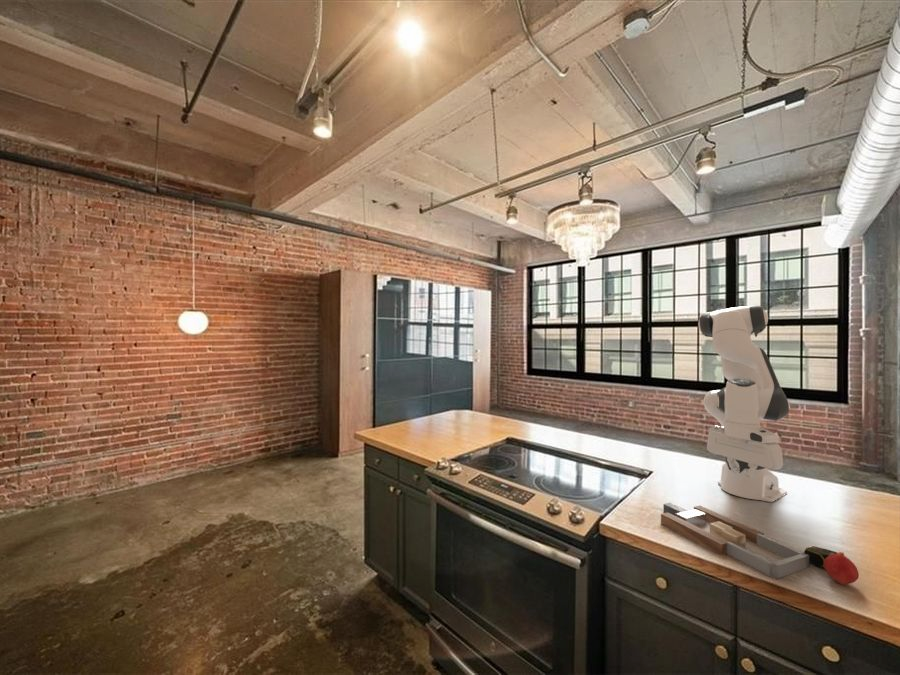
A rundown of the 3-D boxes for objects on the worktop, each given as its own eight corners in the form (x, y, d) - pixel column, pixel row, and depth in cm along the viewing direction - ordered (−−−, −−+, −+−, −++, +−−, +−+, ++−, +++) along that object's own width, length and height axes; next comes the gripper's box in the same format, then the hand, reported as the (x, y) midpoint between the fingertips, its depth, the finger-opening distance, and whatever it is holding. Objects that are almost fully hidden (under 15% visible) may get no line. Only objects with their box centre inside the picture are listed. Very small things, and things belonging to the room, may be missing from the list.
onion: (817, 577, 92) (817, 545, 92) (837, 576, 93) (837, 544, 93) (843, 593, 86) (843, 558, 86) (865, 591, 87) (865, 557, 87)
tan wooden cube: (719, 534, 113) (719, 521, 113) (732, 541, 109) (732, 527, 109) (709, 536, 111) (709, 523, 111) (723, 543, 107) (723, 529, 108)
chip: (730, 541, 108) (730, 528, 109) (745, 549, 105) (745, 535, 105) (721, 544, 107) (721, 530, 107) (735, 551, 103) (735, 537, 103)
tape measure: (850, 568, 94) (846, 552, 95) (833, 573, 92) (829, 557, 93) (817, 558, 101) (813, 543, 101) (800, 563, 98) (797, 548, 99)
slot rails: (700, 514, 125) (699, 505, 125) (763, 543, 107) (763, 533, 108) (660, 523, 119) (661, 513, 119) (721, 555, 101) (721, 544, 101)
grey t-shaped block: (706, 524, 119) (676, 510, 129) (706, 513, 119) (676, 500, 129) (686, 529, 116) (657, 514, 125) (686, 518, 116) (657, 504, 125)
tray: (759, 544, 107) (759, 533, 107) (809, 567, 96) (809, 555, 96) (726, 553, 102) (726, 542, 102) (775, 579, 91) (775, 566, 91)
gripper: (702, 424, 125) (702, 465, 125) (772, 439, 106) (772, 487, 106) (715, 423, 127) (715, 463, 127) (786, 437, 108) (786, 485, 108)
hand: (741, 474), depth 116 cm, fingers open, 3 cm apart
